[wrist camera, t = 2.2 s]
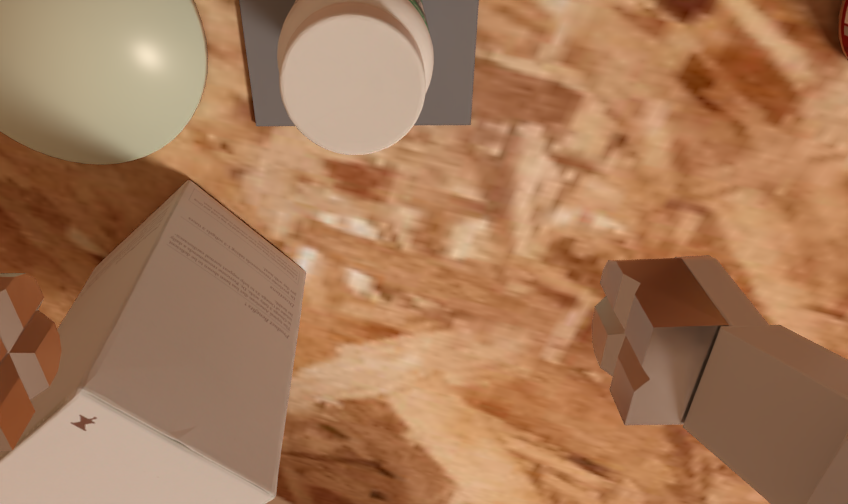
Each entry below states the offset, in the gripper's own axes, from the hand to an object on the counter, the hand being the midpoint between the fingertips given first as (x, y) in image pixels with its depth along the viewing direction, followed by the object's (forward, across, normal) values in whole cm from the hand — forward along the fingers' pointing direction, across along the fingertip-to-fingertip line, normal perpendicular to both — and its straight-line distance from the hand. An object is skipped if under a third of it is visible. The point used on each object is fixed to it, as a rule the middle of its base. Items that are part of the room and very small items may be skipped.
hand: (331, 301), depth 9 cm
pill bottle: (+18, 0, 0) cm, 18 cm away
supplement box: (+18, +8, +12) cm, 23 cm away
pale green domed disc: (+18, +11, +1) cm, 21 cm away
